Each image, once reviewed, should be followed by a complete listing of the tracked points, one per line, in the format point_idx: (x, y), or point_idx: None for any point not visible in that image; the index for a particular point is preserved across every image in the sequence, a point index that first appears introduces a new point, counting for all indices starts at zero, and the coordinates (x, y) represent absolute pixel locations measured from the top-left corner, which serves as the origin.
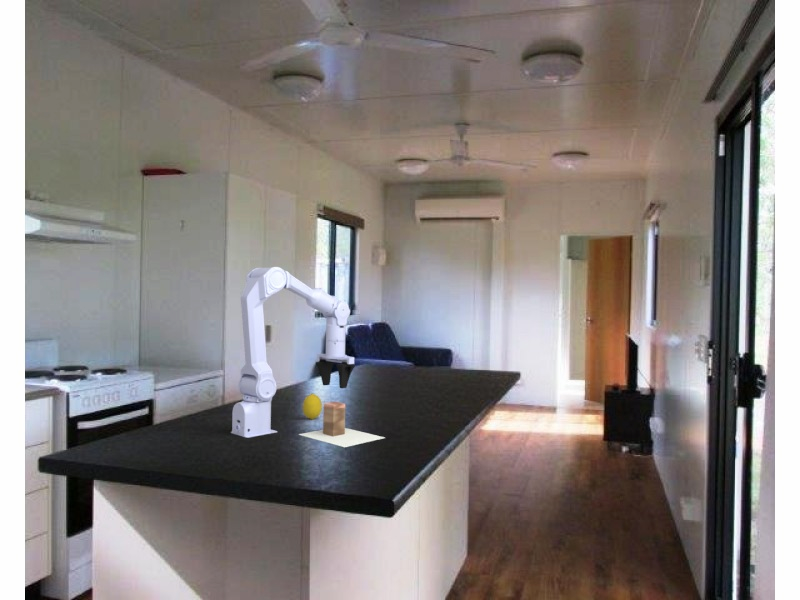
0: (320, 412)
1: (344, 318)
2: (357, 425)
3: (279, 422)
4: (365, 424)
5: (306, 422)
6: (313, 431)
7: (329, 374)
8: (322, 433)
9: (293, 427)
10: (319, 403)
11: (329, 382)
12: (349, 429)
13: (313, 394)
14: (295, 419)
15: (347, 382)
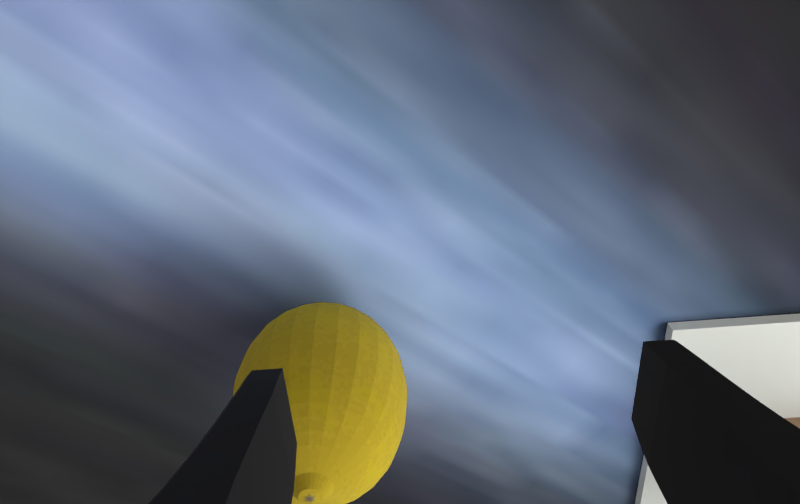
0: (382, 329)
1: None
2: (719, 167)
3: None
4: (753, 89)
5: None
6: (643, 492)
7: (245, 499)
8: None
9: (432, 489)
10: (398, 404)
11: (279, 394)
12: (796, 330)
13: (327, 490)
14: (219, 383)
15: (730, 389)
